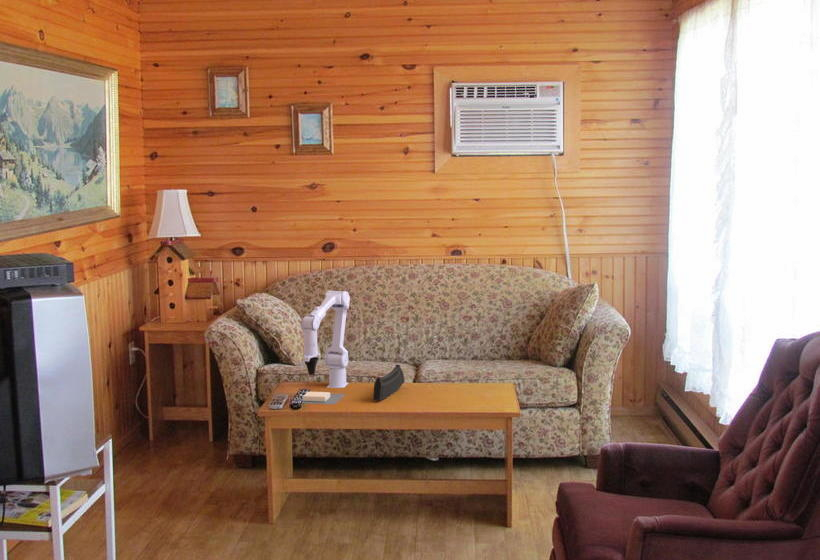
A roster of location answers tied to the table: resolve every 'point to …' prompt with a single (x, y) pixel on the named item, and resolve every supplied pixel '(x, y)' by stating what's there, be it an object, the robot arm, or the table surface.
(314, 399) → the tile
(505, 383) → the table surface
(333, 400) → the mat
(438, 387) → the table surface
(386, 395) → the magazine
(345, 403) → the table surface
